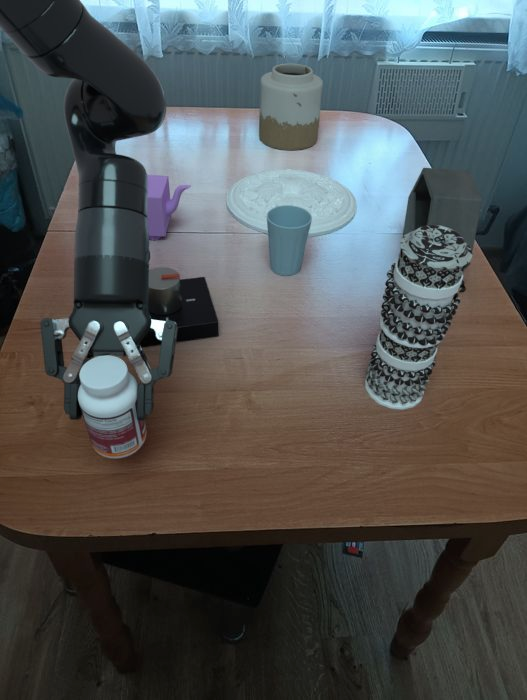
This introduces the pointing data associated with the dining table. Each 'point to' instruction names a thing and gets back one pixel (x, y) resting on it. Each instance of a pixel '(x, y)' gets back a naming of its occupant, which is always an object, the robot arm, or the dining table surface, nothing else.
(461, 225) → the planter
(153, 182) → the teapot
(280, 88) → the vase
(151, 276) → the hob knob
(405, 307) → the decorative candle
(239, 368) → the dining table surface
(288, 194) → the ceiling medallion
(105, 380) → the pill bottle
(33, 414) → the dining table surface
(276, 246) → the cup
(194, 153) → the dining table surface
